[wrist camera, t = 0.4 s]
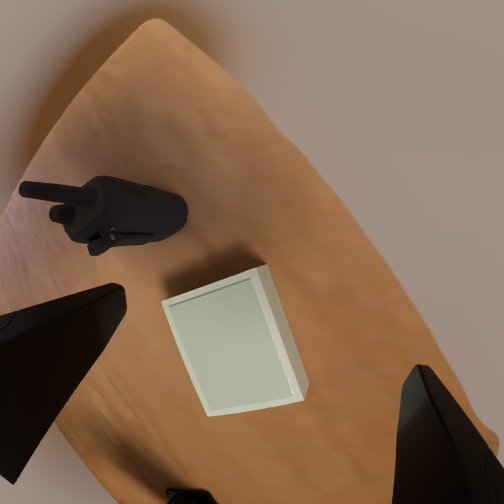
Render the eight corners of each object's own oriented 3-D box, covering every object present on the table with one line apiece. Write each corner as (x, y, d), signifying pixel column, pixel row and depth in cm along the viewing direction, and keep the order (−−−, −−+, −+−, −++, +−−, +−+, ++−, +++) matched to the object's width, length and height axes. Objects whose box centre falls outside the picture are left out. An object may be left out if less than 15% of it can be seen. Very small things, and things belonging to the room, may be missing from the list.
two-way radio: (185, 186, 25) (33, 144, 11) (203, 235, 25) (46, 231, 10) (137, 215, 27) (-11, 202, 12) (152, 261, 26) (0, 277, 12)
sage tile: (222, 400, 25) (207, 417, 22) (180, 295, 25) (160, 301, 22) (309, 382, 22) (303, 401, 19) (267, 264, 23) (255, 267, 20)
